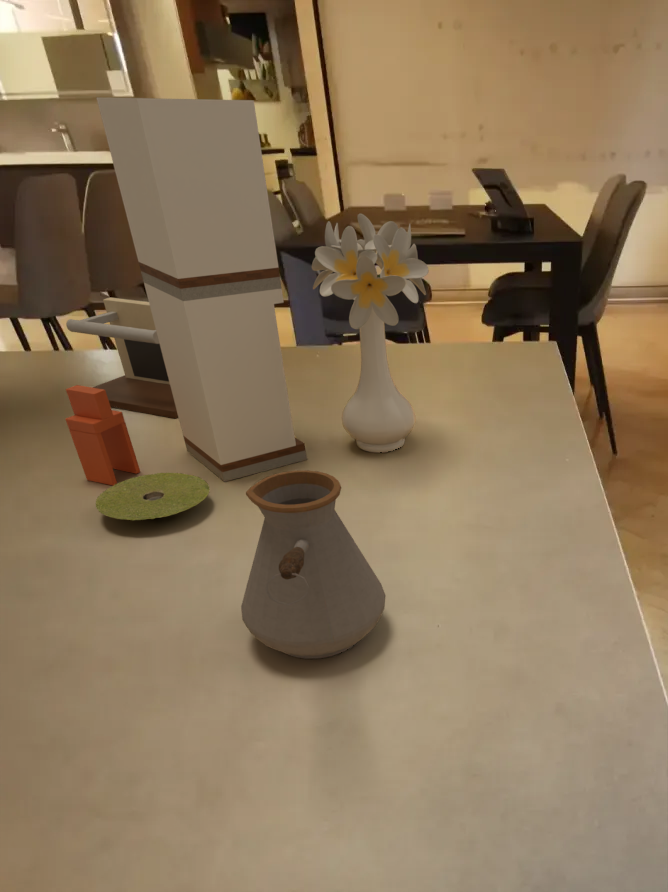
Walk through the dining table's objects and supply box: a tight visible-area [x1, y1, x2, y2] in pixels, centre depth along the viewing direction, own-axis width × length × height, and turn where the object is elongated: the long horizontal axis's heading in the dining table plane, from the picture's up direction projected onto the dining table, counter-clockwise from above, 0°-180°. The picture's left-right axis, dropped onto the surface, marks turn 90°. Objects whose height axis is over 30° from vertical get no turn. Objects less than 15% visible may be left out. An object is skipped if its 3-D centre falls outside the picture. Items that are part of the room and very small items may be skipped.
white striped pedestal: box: [96, 96, 308, 483], centre depth 76 cm, size 11×11×35 cm
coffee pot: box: [240, 469, 387, 660], centre depth 50 cm, size 21×12×15 cm, turn 11°
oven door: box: [65, 297, 179, 419], centre depth 100 cm, size 11×18×12 cm, turn 68°
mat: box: [95, 472, 210, 521], centre depth 74 cm, size 11×11×2 cm
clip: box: [65, 384, 141, 486], centre depth 79 cm, size 4×4×10 cm
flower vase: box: [311, 213, 430, 454], centre depth 82 cm, size 13×18×25 cm
